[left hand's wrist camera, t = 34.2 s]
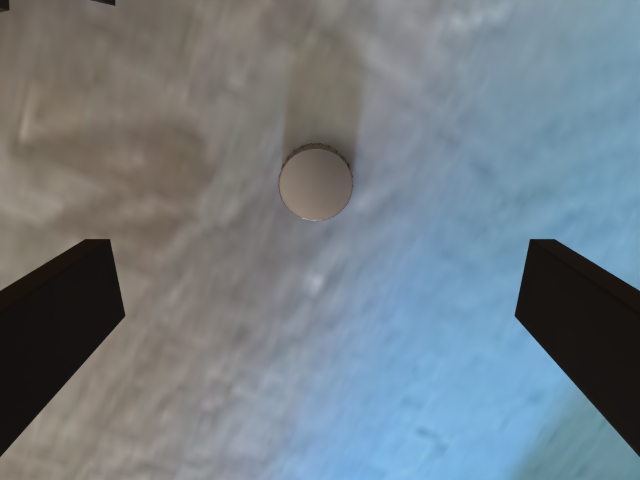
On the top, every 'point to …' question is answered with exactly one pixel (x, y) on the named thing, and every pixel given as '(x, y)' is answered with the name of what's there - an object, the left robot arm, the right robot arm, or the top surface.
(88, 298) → the left robot arm
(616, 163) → the top surface
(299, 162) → the cap
